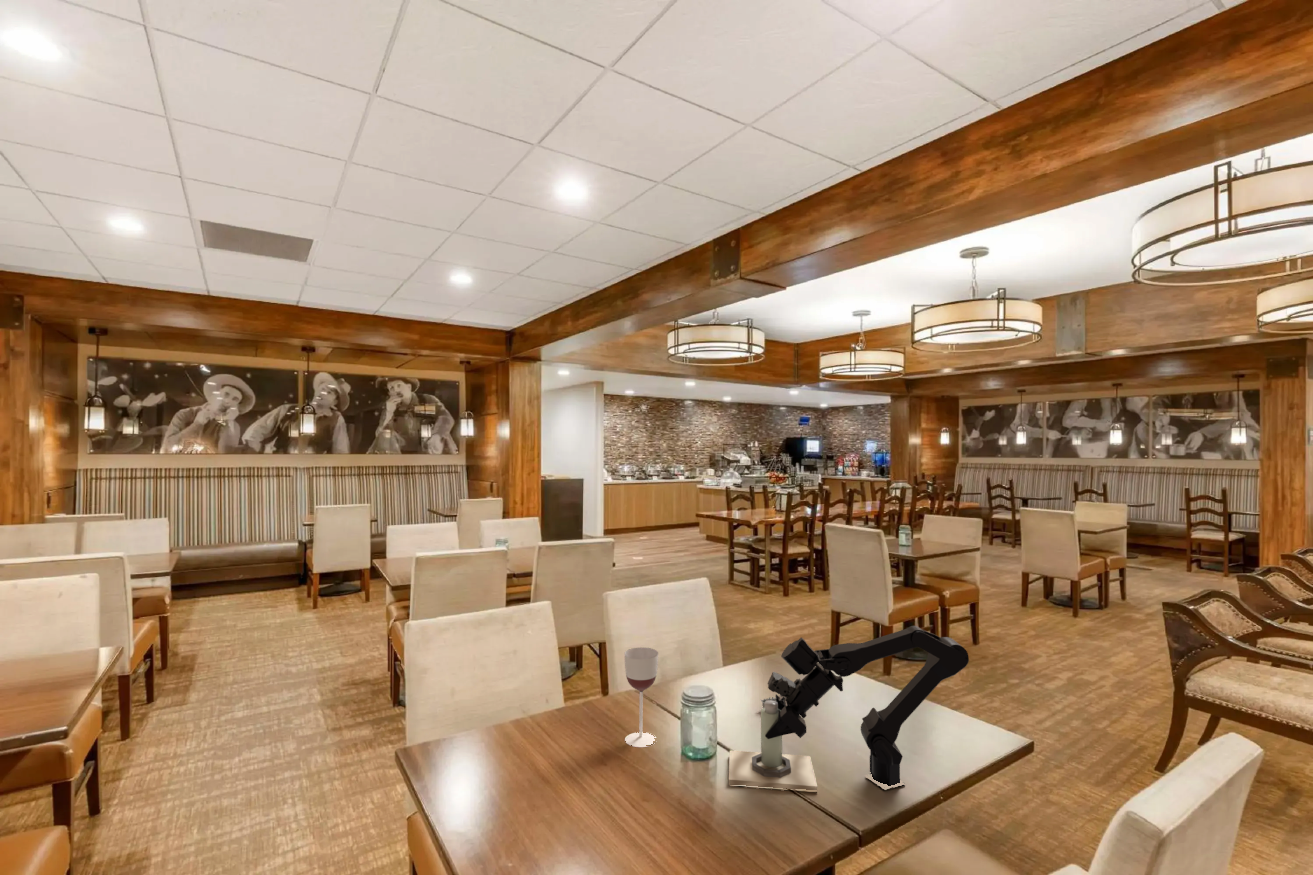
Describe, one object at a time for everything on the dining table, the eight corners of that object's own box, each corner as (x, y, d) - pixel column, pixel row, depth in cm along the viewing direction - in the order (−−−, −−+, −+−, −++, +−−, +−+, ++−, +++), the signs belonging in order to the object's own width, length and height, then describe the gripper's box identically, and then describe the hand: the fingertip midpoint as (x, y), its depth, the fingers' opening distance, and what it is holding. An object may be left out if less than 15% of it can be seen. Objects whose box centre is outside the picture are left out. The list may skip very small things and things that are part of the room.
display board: (810, 762, 150) (810, 751, 150) (817, 792, 136) (817, 780, 136) (729, 756, 153) (729, 745, 153) (728, 785, 139) (728, 773, 139)
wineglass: (659, 731, 166) (659, 647, 167) (655, 749, 156) (656, 659, 157) (626, 730, 167) (627, 646, 168) (621, 747, 157) (621, 658, 158)
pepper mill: (786, 761, 145) (785, 702, 145) (775, 769, 141) (774, 708, 141) (768, 754, 148) (767, 697, 148) (757, 762, 144) (756, 703, 145)
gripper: (784, 650, 154) (741, 692, 155) (790, 676, 135) (742, 723, 137) (816, 683, 153) (772, 724, 154) (827, 714, 134) (777, 761, 135)
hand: (765, 732), depth 145 cm, fingers closed on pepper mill, 5 cm apart
